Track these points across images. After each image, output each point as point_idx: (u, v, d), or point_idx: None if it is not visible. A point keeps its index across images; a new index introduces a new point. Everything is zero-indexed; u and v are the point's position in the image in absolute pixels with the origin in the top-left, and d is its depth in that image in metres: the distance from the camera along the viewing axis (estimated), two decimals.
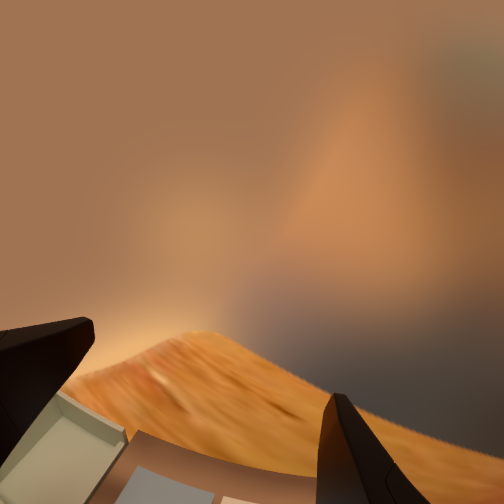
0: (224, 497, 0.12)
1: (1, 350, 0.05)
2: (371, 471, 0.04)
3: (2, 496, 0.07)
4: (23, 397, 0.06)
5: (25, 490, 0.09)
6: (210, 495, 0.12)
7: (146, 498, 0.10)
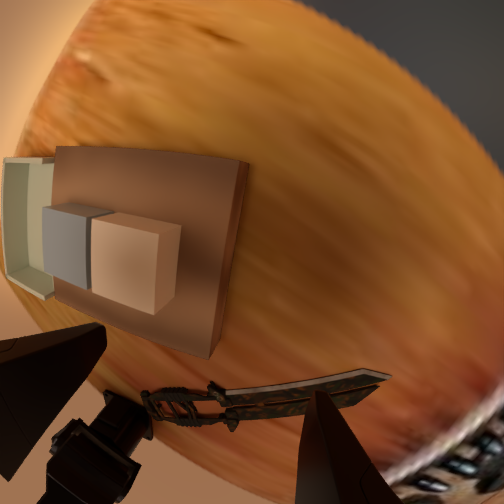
0: (92, 220, 0.15)
1: (11, 359, 0.05)
2: (346, 471, 0.04)
3: (33, 267, 0.25)
4: (35, 407, 0.06)
5: (37, 249, 0.24)
6: (83, 220, 0.15)
7: (53, 238, 0.16)
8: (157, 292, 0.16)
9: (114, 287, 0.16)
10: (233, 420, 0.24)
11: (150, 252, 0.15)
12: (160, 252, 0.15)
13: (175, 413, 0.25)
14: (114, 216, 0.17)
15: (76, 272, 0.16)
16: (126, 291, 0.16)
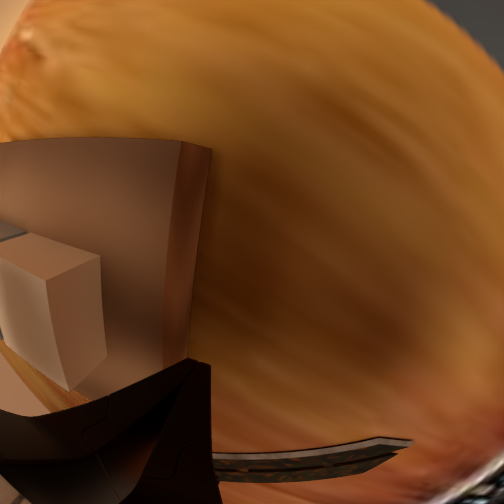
0: None
1: (113, 428, 0.05)
2: (180, 437, 0.05)
3: None
4: (135, 469, 0.05)
5: None
6: None
7: None
8: (66, 363, 0.08)
9: (21, 344, 0.09)
10: None
11: (42, 307, 0.07)
12: (56, 307, 0.08)
13: None
14: (17, 241, 0.09)
15: None
16: (33, 353, 0.08)
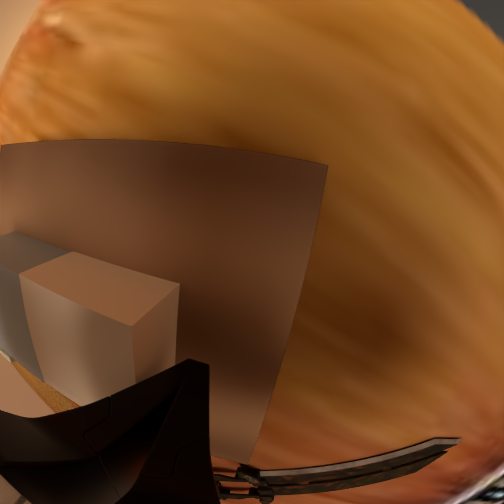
0: (20, 276, 0.07)
1: (115, 429, 0.05)
2: (178, 436, 0.05)
3: None
4: (136, 470, 0.05)
5: None
6: (16, 279, 0.07)
7: None
8: None
9: (72, 387, 0.08)
10: (268, 497, 0.15)
11: (119, 354, 0.07)
12: (140, 352, 0.07)
13: None
14: (60, 264, 0.08)
15: (25, 355, 0.08)
16: (92, 399, 0.08)
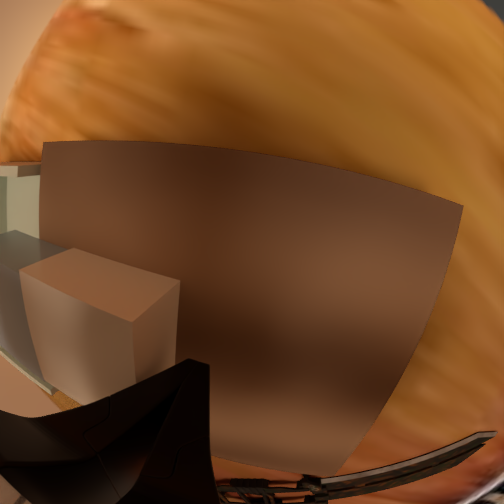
0: (20, 272, 0.07)
1: (115, 429, 0.05)
2: (178, 436, 0.05)
3: None
4: (136, 470, 0.05)
5: None
6: (16, 278, 0.07)
7: None
8: None
9: (72, 384, 0.08)
10: (324, 502, 0.15)
11: (119, 351, 0.07)
12: (140, 349, 0.07)
13: (247, 501, 0.16)
14: (60, 260, 0.08)
15: (25, 354, 0.08)
16: (91, 396, 0.08)
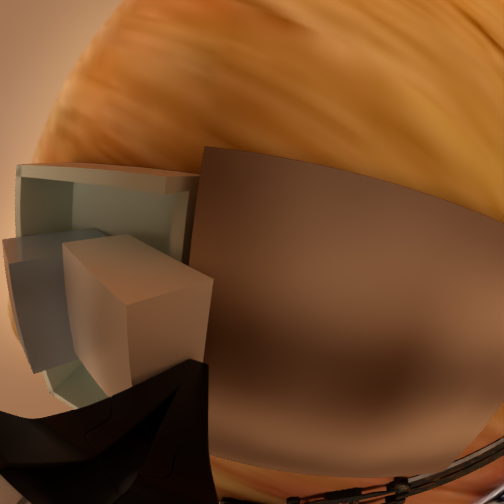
0: (63, 245, 0.08)
1: (117, 430, 0.05)
2: (177, 436, 0.05)
3: None
4: (138, 471, 0.05)
5: None
6: None
7: None
8: None
9: (90, 361, 0.09)
10: (403, 500, 0.14)
11: (119, 334, 0.06)
12: (139, 339, 0.07)
13: None
14: (106, 242, 0.10)
15: None
16: (103, 377, 0.08)
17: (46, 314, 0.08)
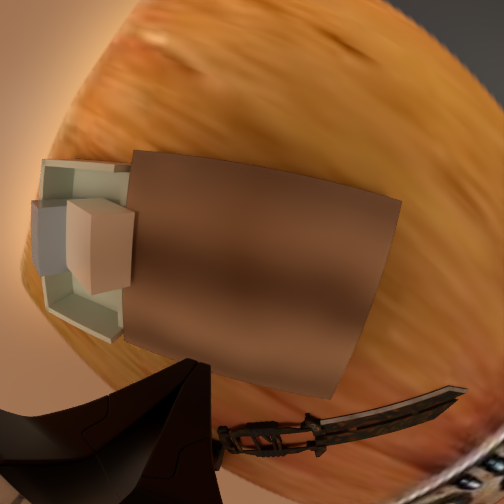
0: (67, 201, 0.16)
1: (113, 429, 0.05)
2: (180, 437, 0.05)
3: (79, 295, 0.23)
4: (135, 469, 0.05)
5: None
6: None
7: None
8: (94, 273, 0.15)
9: (74, 263, 0.16)
10: (323, 446, 0.22)
11: (87, 232, 0.14)
12: (96, 233, 0.14)
13: (258, 446, 0.23)
14: (89, 200, 0.17)
15: None
16: (79, 268, 0.16)
17: (53, 239, 0.16)
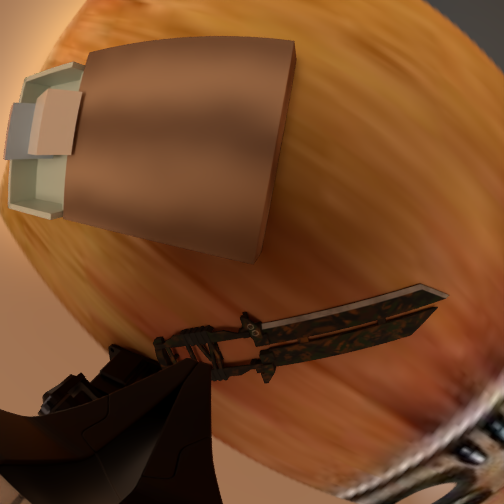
0: (37, 99, 0.16)
1: (113, 428, 0.05)
2: (180, 437, 0.05)
3: (39, 198, 0.22)
4: (135, 469, 0.05)
5: (47, 176, 0.21)
6: None
7: None
8: (42, 136, 0.14)
9: (32, 142, 0.16)
10: (269, 365, 0.21)
11: (43, 103, 0.14)
12: (49, 102, 0.14)
13: None
14: None
15: None
16: (34, 142, 0.15)
17: (21, 128, 0.16)
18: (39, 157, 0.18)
